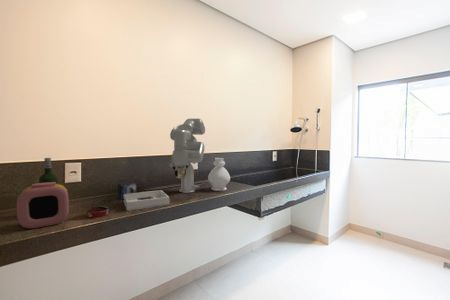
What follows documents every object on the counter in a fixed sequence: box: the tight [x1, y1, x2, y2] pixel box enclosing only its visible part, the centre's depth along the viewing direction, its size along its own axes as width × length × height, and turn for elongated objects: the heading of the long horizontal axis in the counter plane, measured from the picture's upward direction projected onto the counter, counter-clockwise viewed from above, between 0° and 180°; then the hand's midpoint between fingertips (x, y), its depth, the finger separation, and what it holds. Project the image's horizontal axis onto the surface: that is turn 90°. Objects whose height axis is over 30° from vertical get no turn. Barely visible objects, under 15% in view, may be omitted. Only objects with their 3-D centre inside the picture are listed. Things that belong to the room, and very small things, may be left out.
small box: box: [117, 181, 137, 201], centre depth 152 cm, size 11×6×10 cm, turn 129°
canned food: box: [86, 200, 109, 219], centre depth 119 cm, size 11×10×10 cm
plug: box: [175, 166, 185, 179], centre depth 150 cm, size 4×4×7 cm
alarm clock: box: [16, 182, 70, 229], centre depth 106 cm, size 18×11×19 cm, turn 126°
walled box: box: [123, 189, 170, 212], centre depth 140 cm, size 24×20×5 cm
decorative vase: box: [207, 157, 231, 192], centre depth 180 cm, size 18×18×25 cm
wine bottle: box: [38, 157, 59, 184], centre depth 120 cm, size 8×8×30 cm
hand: (180, 175), depth 150 cm, fingers closed on plug, 4 cm apart
